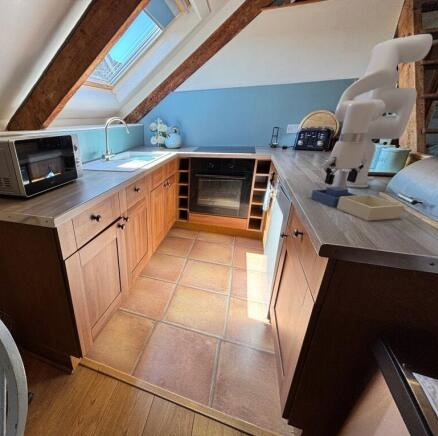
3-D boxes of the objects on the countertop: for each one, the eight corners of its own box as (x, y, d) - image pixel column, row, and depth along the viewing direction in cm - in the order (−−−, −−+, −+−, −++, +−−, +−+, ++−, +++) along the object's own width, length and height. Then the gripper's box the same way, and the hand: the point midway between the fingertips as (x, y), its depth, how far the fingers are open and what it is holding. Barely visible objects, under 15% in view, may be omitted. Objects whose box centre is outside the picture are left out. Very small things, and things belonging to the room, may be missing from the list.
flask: (340, 190, 112) (347, 169, 108) (351, 195, 105) (358, 172, 102) (324, 190, 113) (330, 169, 109) (333, 195, 106) (340, 172, 102)
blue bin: (334, 196, 104) (336, 188, 103) (358, 205, 94) (361, 196, 93) (310, 198, 103) (312, 190, 102) (332, 207, 93) (335, 198, 92)
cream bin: (365, 206, 93) (369, 194, 91) (399, 218, 82) (404, 205, 80) (336, 208, 92) (340, 196, 90) (367, 220, 81) (372, 207, 79)
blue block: (334, 198, 101) (337, 186, 99) (344, 201, 96) (348, 189, 94) (323, 198, 100) (326, 187, 98) (333, 202, 96) (337, 190, 94)
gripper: (363, 135, 94) (350, 178, 101) (322, 138, 92) (312, 182, 99) (383, 137, 87) (368, 183, 94) (339, 140, 85) (327, 187, 92)
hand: (339, 182), depth 96 cm, fingers open, 9 cm apart
